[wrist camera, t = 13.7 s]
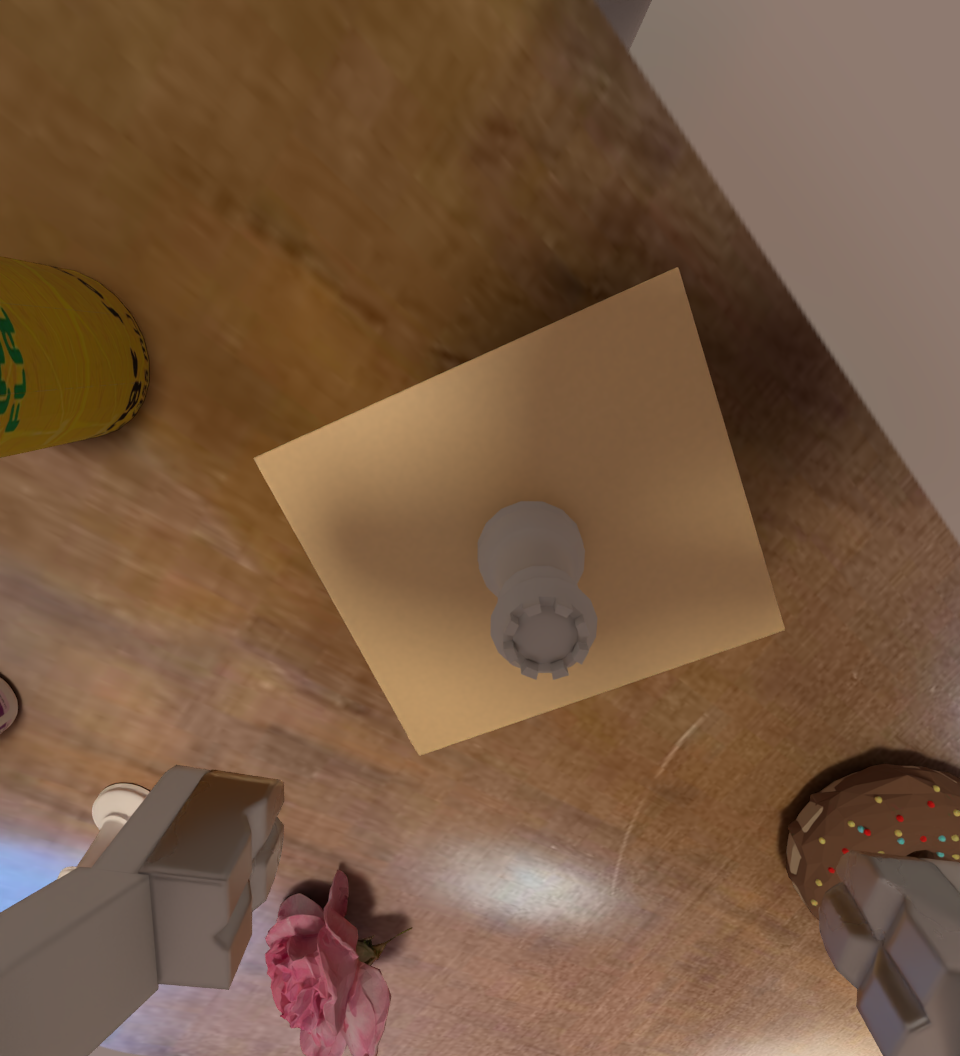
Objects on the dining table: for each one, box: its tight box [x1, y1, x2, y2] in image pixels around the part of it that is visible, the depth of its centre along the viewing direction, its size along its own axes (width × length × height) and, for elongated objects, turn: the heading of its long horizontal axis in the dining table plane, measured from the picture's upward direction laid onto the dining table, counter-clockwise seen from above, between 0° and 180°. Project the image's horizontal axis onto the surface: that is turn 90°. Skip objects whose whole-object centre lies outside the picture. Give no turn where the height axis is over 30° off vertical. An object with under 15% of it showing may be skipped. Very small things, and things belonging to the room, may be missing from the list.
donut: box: [786, 764, 960, 920], centre depth 37 cm, size 14×14×5 cm
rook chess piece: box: [478, 501, 598, 680], centre depth 20 cm, size 4×4×8 cm
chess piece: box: [58, 783, 150, 879], centre depth 35 cm, size 5×5×10 cm
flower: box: [265, 870, 412, 1056], centre depth 40 cm, size 11×10×10 cm
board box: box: [254, 267, 785, 756], centre depth 28 cm, size 18×16×9 cm
